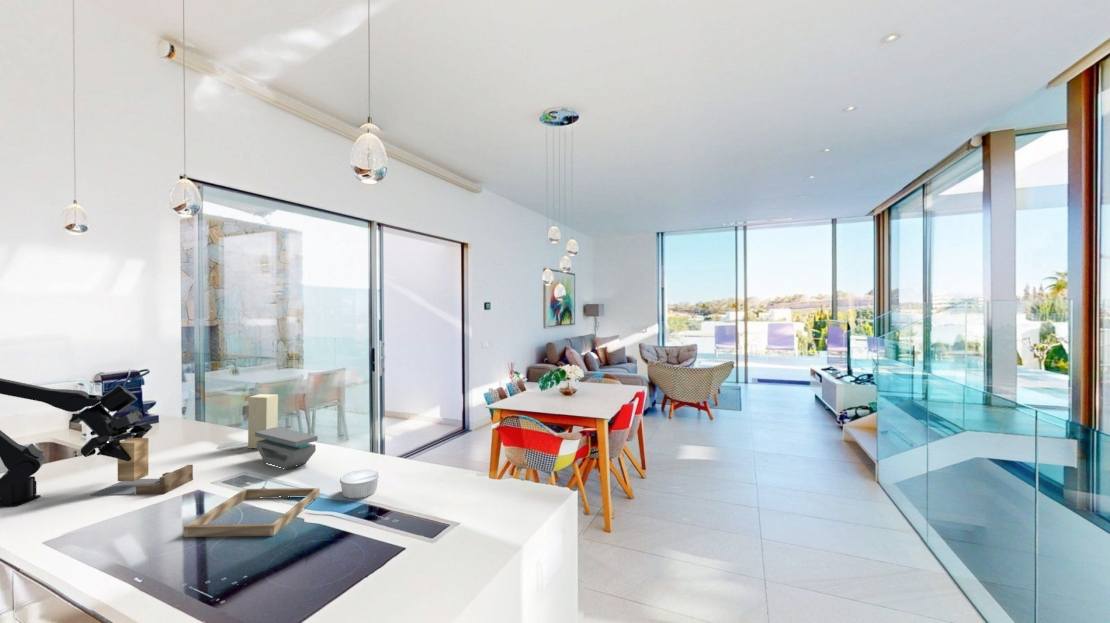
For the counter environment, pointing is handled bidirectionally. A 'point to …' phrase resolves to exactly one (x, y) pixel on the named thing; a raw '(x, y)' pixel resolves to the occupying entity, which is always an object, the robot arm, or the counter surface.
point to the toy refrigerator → (261, 416)
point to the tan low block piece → (168, 481)
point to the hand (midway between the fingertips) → (137, 457)
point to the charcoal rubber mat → (125, 487)
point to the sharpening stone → (285, 447)
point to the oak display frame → (203, 530)
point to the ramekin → (359, 483)
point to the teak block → (134, 460)
